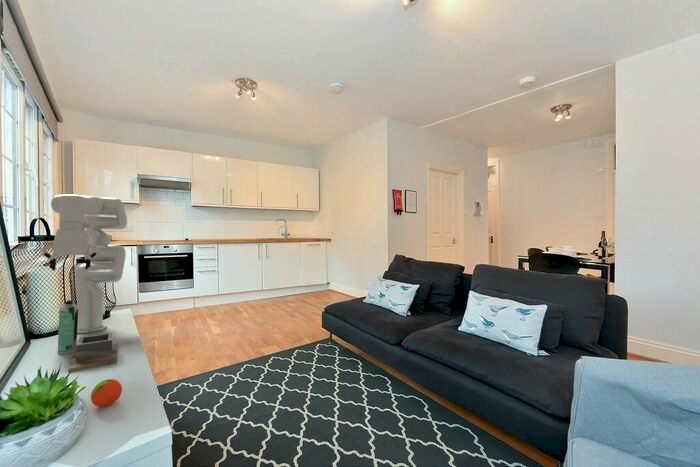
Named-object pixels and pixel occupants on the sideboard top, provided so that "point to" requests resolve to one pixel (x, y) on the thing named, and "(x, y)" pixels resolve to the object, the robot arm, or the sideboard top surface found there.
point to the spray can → (67, 327)
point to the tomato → (106, 393)
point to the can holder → (94, 352)
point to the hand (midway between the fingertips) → (70, 269)
